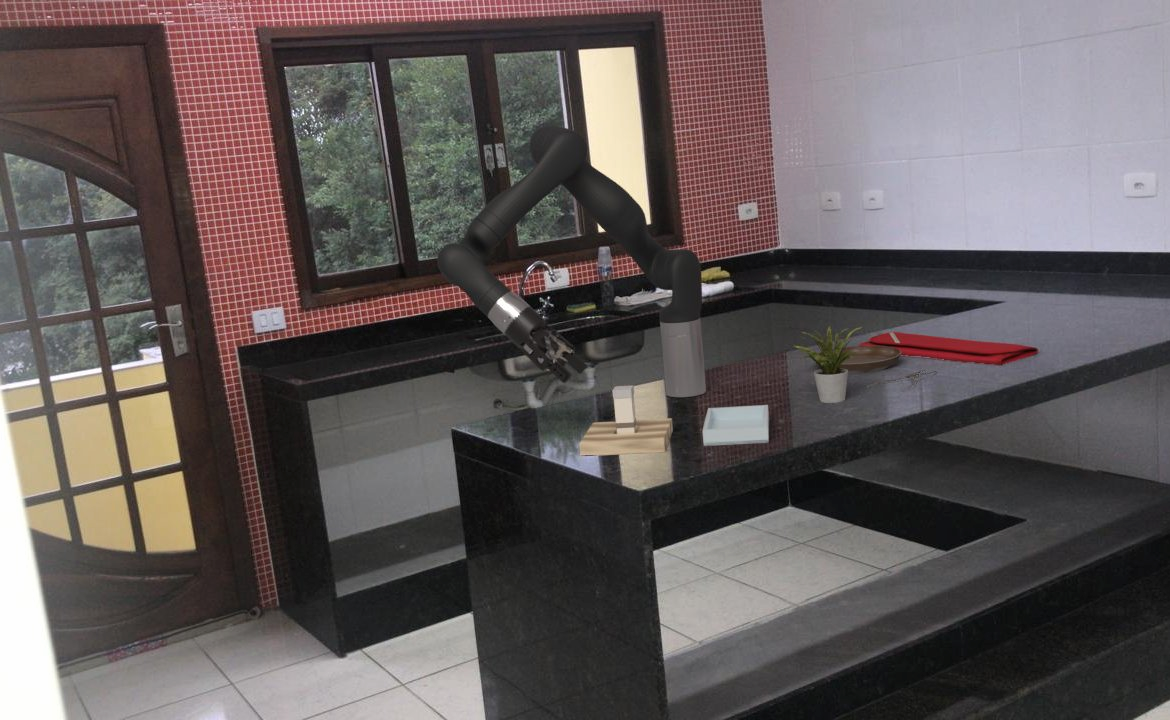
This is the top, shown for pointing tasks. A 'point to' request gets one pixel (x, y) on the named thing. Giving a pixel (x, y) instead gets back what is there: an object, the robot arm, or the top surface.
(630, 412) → the block
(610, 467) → the top surface
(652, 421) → the wooden board with hole
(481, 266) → the robot arm
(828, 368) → the house plant
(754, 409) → the parts tray
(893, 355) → the plant saucer
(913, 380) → the pliers
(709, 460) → the top surface
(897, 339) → the dish drying mat
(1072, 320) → the top surface
